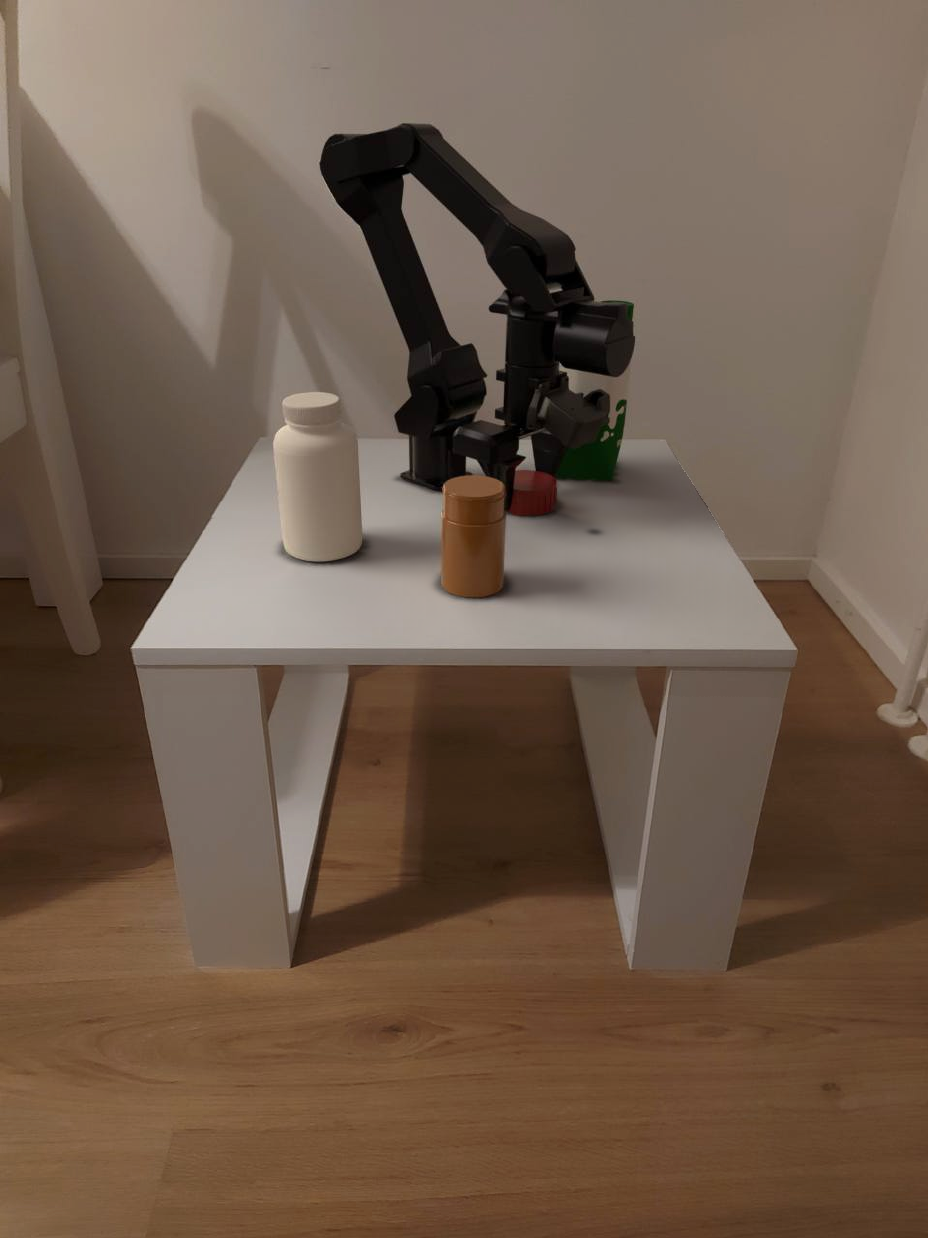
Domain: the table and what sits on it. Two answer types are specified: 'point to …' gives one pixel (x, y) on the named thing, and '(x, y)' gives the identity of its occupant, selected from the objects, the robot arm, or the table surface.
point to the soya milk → (604, 451)
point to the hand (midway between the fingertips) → (524, 501)
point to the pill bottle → (318, 479)
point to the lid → (533, 493)
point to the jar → (473, 536)
